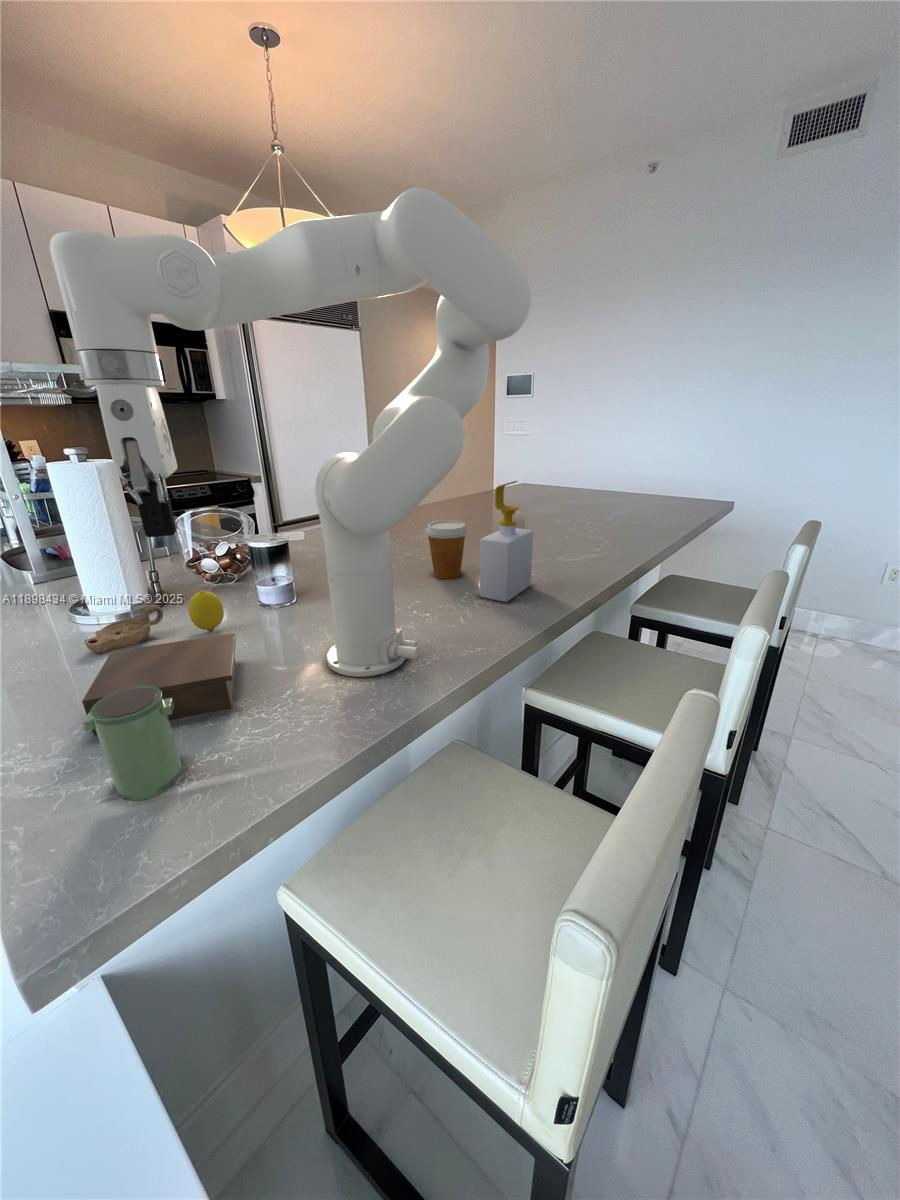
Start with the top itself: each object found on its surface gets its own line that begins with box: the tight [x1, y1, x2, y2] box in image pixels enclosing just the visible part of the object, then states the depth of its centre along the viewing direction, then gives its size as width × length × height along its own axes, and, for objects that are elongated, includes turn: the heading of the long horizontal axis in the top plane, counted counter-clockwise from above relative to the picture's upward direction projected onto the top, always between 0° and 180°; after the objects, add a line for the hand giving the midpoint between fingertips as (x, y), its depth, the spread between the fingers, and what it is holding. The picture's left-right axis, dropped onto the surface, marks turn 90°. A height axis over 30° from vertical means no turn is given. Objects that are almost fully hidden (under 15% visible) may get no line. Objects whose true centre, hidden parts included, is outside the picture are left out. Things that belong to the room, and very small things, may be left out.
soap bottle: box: [479, 480, 534, 603], centre depth 101 cm, size 12×7×23 cm, turn 147°
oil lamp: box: [83, 604, 164, 654], centre depth 84 cm, size 13×8×5 cm, turn 151°
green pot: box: [83, 686, 182, 802], centre depth 51 cm, size 8×6×10 cm
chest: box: [83, 658, 236, 736], centre depth 67 cm, size 16×14×5 cm
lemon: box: [188, 589, 225, 633], centre depth 87 cm, size 6×6×8 cm
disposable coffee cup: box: [425, 520, 468, 579], centre depth 114 cm, size 10×10×12 cm
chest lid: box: [81, 632, 237, 707], centre depth 66 cm, size 16×14×1 cm
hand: (161, 534), depth 61 cm, fingers closed
